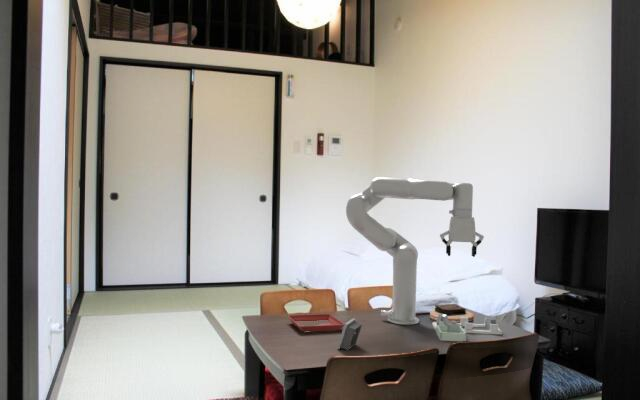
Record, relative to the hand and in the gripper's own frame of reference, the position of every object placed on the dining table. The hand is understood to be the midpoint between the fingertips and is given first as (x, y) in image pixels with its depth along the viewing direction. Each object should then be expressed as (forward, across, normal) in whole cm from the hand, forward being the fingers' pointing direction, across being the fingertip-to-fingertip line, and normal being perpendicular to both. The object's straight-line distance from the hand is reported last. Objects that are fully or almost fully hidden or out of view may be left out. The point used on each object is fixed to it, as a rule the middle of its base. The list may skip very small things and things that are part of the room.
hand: (461, 256), depth 216 cm
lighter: (+28, -6, -18) cm, 34 cm away
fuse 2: (+28, +12, -5) cm, 31 cm away
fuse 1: (+28, -8, -5) cm, 30 cm away
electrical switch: (+29, -43, -38) cm, 64 cm away
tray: (+28, -6, -18) cm, 34 cm away
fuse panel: (+28, +2, -5) cm, 29 cm away
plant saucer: (+29, -57, -13) cm, 65 cm away
